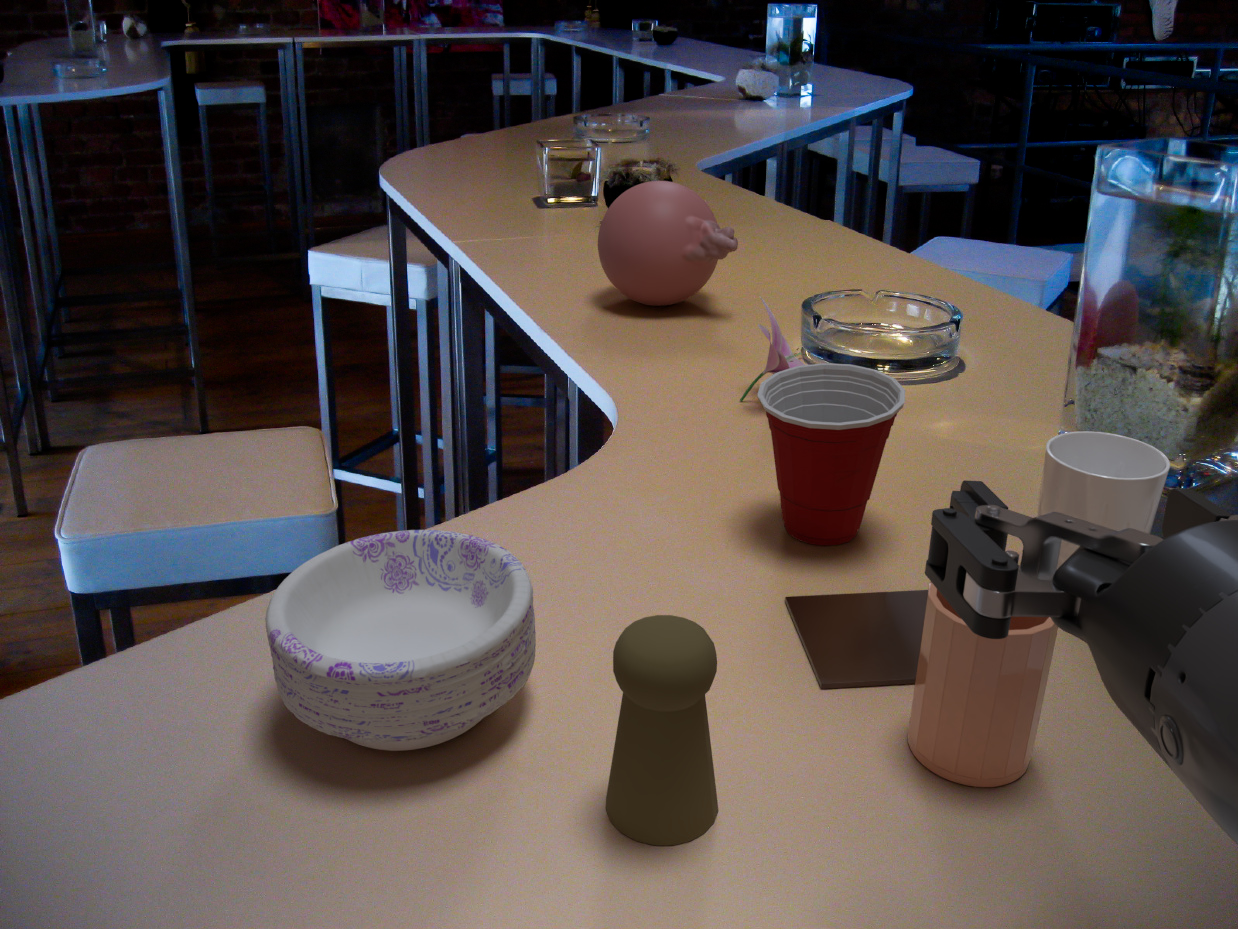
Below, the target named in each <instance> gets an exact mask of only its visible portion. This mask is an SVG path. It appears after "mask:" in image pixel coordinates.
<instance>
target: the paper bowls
mask: <svg viewBox="0 0 1238 929" xmlns="http://www.w3.org/2000/svg"><path fill="white" fill-rule="evenodd" d="M264 619H265V630H266V636H267V641H268V646H269V650H270V655H271V656H270V657H271V660H272V669H273V675H274V680H275V683H276V686H277V691H278V693H279V696H280V698H281V700H282V703H283V704H284V706H285V707H286V708H287V709H288V710H289V712H290V713H291V714H294V715H293V716H294V717H295V718H296V719H298V720H299V721H300V722H302V723H303V724H304V725H305V724H306V725H307V726H309V727H310V728H312V729H315V730H317V731H318V732H321V733H324V734H326V735H327V736H328V735H329V736H333V737H337V738H340V739H346V740H347V741H350V742H351V743H353V744H356V745H359V746H362V747H365V748H369V749H374V750H380V751H391V752H397V751H398V752H399V751H400V752H402V751H412V750H413V751H415V750H421V749H424V748H429V747H434V746H437V745H440V744H442V743H446V742H448V741H450V740H452V739H455V738H457V737H459V736H461V735H462V734H464V733H466V732H467V731H469V730H470V729H473V727H475V726H476V725H477V724H478V723H479V722H481V721H482V720H483V719H484V718H486V717H488V716H489V715H491V714H492V713H494V712H496V711H497V710H499V708H501V707H502V706H504V705H506V704H507V703H508V702H509V701H511V699H513V698H514V697H515V696H516V695H517V694H518V693H519V691H521V689H522V688H523V687H524V686H525V684H526V682H527V681H528V679H529V677H530V676H531V673H532V671H533V668H534V664H535V661H536V660H535V659H536V647H537V646H536V645H537V635H536V633H537V631H536V616H535V608H534V588H533V584H532V581H531V577H530V575H529V573H528V572H527V570H526V567H525V566H524V564H523V562H521V561H520V559H519V558H517V556H515V555H514V554H513V553H512V552H511V551H509V550H507V549H506V548H504V547H503V546H501V545H499V544H498V543H495V542H493V541H490V540H488V539H485V538H482V537H480V536H474V535H472V534H468V533H463V532H457V531H449V530H438V529H408V530H398V531H397V530H396V531H390V532H388V531H387V532H382V533H376V534H371V535H368V536H363V537H360V538H356V539H354V540H350V541H347V542H344V543H342V544H338V545H335V546H334V547H331V548H330V549H328V550H325V551H323V552H321V553H319V554H317V555H315V556H313V557H312V558H310V559H308V560H306V561H305V562H303V563H302V564H300V565H299V566H298V567H296V568H295V569H294V570H292V572H290V573H289V574H288V576H286V577H285V578H284V579H283V580H282V582H281V583H280V584H279V585H278V587H277V588H276V589H275V590H274V592H273V594H272V596H271V598H270V600H269V602H268V605H267V608H266V612H265V618H264Z"/></svg>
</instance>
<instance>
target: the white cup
mask: <svg viewBox="0 0 1238 929" xmlns="http://www.w3.org/2000/svg"><path fill="white" fill-rule="evenodd" d="M1044 449H1045V450H1044V451H1045V452H1044V457H1043V465H1042V466H1043V467H1042V471H1041V480H1040V487H1039V496H1038V500H1037V514H1036V517H1038V516H1041V515H1044V514H1048V513H1051V512H1059V513H1062V514H1065V515H1068V516H1072V517H1075V518H1078V519H1081V520H1084V521H1087V522H1090V523H1094V524H1097V525H1100V526H1103V527H1106V528H1109V529H1112V530H1116V531H1120V530H1123V529H1127V528H1132V529H1136V530H1139V531H1142V532H1145V533H1148V534H1151V532H1152V529H1153V525H1154V521H1155V518H1156V515H1157V511H1158V509H1159V506H1160V502H1161V498H1162V495H1163V492H1164V488H1165V485H1166V481H1167V477H1168V475H1169V472H1170V468H1171V461H1170V459H1169V458H1168V456H1167V455H1166V454H1164V452H1162V451H1161V450H1160V449H1158V448H1157V447H1155V446H1153V445H1151V444H1149V443H1147V442H1144V441H1143V440H1139V439H1136V438H1132V437H1129V436H1125V435H1121V434H1116V433H1112V432H1103V431H1093V430H1092V431H1091V430H1082V431H1081V430H1080V431H1071V432H1070V431H1069V432H1064V433H1059V434H1057V435H1054V436H1053V437H1051V438H1050V439H1049V440H1047V442H1046V444H1045V448H1044ZM1079 547H1080V546H1078V545H1075V544H1072V543H1069V542H1066V541H1063V540H1062V541H1061V547H1060V553H1059V559H1058V565H1057V569H1058V568H1059V567H1060V566H1061V565H1062V564H1063V563H1064V562H1065V561H1066V560H1067V559H1068V558H1069V557H1070V556H1071V555H1072V554H1073V553H1074V552H1075V551H1076V550H1077V549H1078V548H1079Z"/></svg>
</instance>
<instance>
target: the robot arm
mask: <svg viewBox="0 0 1238 929" xmlns="http://www.w3.org/2000/svg"><path fill="white" fill-rule="evenodd" d="M949 500H950V501H949V507H944V508H937V509H934V510H932V512H931V520H930V525H931V532H930V539H929V548H928V553H927V554H928V556H927V559H926V560H925V568H924V575H925V576H926V577H927V579H928V580H929V582H932V583H933V584H934V586H935V587H936V588H937V589H938V591H939V592H940V593H941V594H942V595H943V597H944V598H945V599H946V600H947V602H948V603H949V604H950V605H951V606H952V608H953V609H954V610H955V611H956V613H957V614H958V615H959V616H960V617H961V619H962V620H963V621H964V622H965V624H966V625H967V626H968V627H969V628H970V630H971V631H972V632H973V633H975V634H977V635H979V636H981V637H985V638H990V639H1003V638H1006V637H1007V636H1008V633H1009V627H1010V620H1011V617H1050V618H1051V619H1052V621H1053V622H1054V623H1055V624H1056V625H1057V626H1058V629H1060V630H1062V631H1063V632H1065V633H1067V634H1070V635H1071V636H1073V637H1075V638H1077V639H1079V640H1081V641H1082V642H1084V643H1085V644H1086V645H1087V646H1088V649H1089V650H1090V652H1091V656H1092V658H1093V661H1094V663H1095V666H1096V669H1097V672H1098V674H1099V676H1100V679H1101V682H1102V683H1103V685H1104V688H1105V690H1106V691H1107V693H1108V695H1109V697H1110V698H1111V700H1112V701H1113V703H1114V704H1115V705H1116V707H1117V708H1118V709H1119V710H1120V711H1121V712H1122V714H1123V715H1124V716H1125V717H1126V719H1127V720H1128V721H1129V722H1130V723H1131V725H1132V726H1133V727H1134V728H1135V729H1136V730H1137V732H1138V733H1139V734H1140V735H1141V736H1142V738H1144V739H1145V741H1146V742H1147V744H1148V745H1149V746H1150V747H1151V748H1152V750H1154V752H1155V753H1156V754H1157V755H1158V756H1159V757H1160V759H1162V761H1163V762H1164V763H1165V765H1167V767H1168V768H1169V769H1170V770H1171V772H1173V774H1174V776H1176V777H1177V779H1178V780H1179V781H1180V782H1181V783H1182V784H1183V786H1185V788H1186V789H1187V790H1188V791H1189V792H1190V794H1191V795H1192V796H1193V798H1194V799H1195V800H1196V801H1197V802H1198V803H1199V804H1200V806H1201V807H1202V808H1203V809H1204V810H1205V812H1206V813H1207V814H1208V815H1209V817H1211V819H1212V820H1213V821H1214V822H1215V823H1216V824H1217V826H1218V827H1219V828H1220V829H1221V830H1222V831H1223V832H1224V833H1225V834H1226V836H1228V837H1229V838H1230V839H1231V840H1232V841H1233V842H1234V843H1235V845H1237V846H1238V514H1232V513H1230V512H1229V511H1228V510H1227V511H1226V510H1225V509H1224V508H1223V507H1220V506H1219V505H1217V504H1215V503H1214V502H1213V501H1211V500H1209V499H1208V498H1206V497H1204V496H1203V495H1202V494H1201V493H1198V492H1197V491H1196V490H1194V489H1192V488H1172V489H1171V490H1169V493H1168V495H1167V499H1166V504H1165V509H1164V515H1163V520H1162V525H1161V532H1162V536H1163V537H1162V536H1161V537H1160V536H1158V535H1155V534H1151V533H1150V534H1148V533H1145V532H1142V531H1139V530H1136V529H1132V528H1127V529H1123V530H1120V531H1116V530H1112V529H1109V528H1106V527H1103V526H1100V525H1097V524H1094V523H1090V522H1087V521H1084V520H1081V519H1078V518H1075V517H1072V516H1068V515H1065V514H1062V513H1059V512H1051V513H1048V514H1044V515H1041V516H1038V517H1037V516H1035V517H1032V516H1029V515H1026V514H1023V513H1020V512H1017V511H1014V510H1011V509H1009V506H1008V505H1006V503H1005V502H1004V501H1002V499H1001V498H1000V497H998V496H997V495H996V493H995V492H994V491H993V490H991V488H990V487H988V486H987V484H985V482H983V481H982V480H967V479H966V480H963V481H961V485H960V490H952V492H951V494H950V499H949ZM1008 535H1009V536H1013V537H1016V538H1018V539H1019V540H1020V541H1021V543H1022V547H1023V548H1022V553H1021V559H1020V554H1019V553H1018V552H1017V551H1014V550H1006V549H1007V543H1008ZM1062 540H1063V541H1066V542H1069V543H1072V544H1075V545H1078V546H1080V547H1079V548H1078V549H1077V550H1076V551H1075V552H1074V553H1073V554H1072V555H1071V556H1070V557H1069V558H1068V559H1067V560H1066V561H1065V562H1064V563H1063V564H1062V565H1061V566H1060V567H1059V568H1058V569H1057V565H1058V559H1059V553H1060V547H1061V541H1062ZM1019 560H1020V564H1019Z"/></svg>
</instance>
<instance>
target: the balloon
mask: <svg viewBox="0 0 1238 929" xmlns="http://www.w3.org/2000/svg"><path fill="white" fill-rule="evenodd" d="M738 247H739V241H738V238H737V237H735V229H734V228H733V227H732V226H725V227H722V228H721V226H720V225H719V224H718V220H717V218H716V216H715V214H714V212H713V210H712V209H711V207H710V205H709V204H708V203H707V201H705V199H703V198H702V197H701V196H700V195H699V194H698V193H697V192H696V191H694V190H692V189H691V188H689V187H687V186H686V185H683V184H680V183H677V182H674V181H668V180H651V181H645V182H642V183H639V184H636V185H633V186H632V187H630V188H628V189H626V190H625V191H624V192H622V193H621V194H620V195H619V196H618V197H616V199H614V200H613V202H612V203H611V204H610V205H609V207H608V208H607V210H606V212H605V213H604V215H603V218H602V220H601V222H600V226H599V229H598V234H597V254H598V257H599V258H598V259H599V262H600V265H601V267H602V270H603V272H604V274H605V276H606V277H607V279H608V280H609V282H610V283H611V284H612V285H613V287H614V288H615V289H616V290H617V291H618V292H620V294H622V295H623V296H625V297H627V298H628V299H630V300H631V301H634V302H636V303H639V304H642V305H647V306H651V307H664V306H670V305H671V306H672V305H675V304H679V303H681V302H684V301H686V300H688V299H689V298H691V297H692V296H694V295H696V294H697V293H698V292H699V291H701V289H703V287H704V286H706V284H707V283H708V282H709V280H710V279H711V277H712V275H713V274H714V272H715V270H716V266H717V265H718V263H719V260H724V259H726V258H727V257H728V255H729V253H732V252H736V251H737V250H738Z"/></svg>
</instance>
